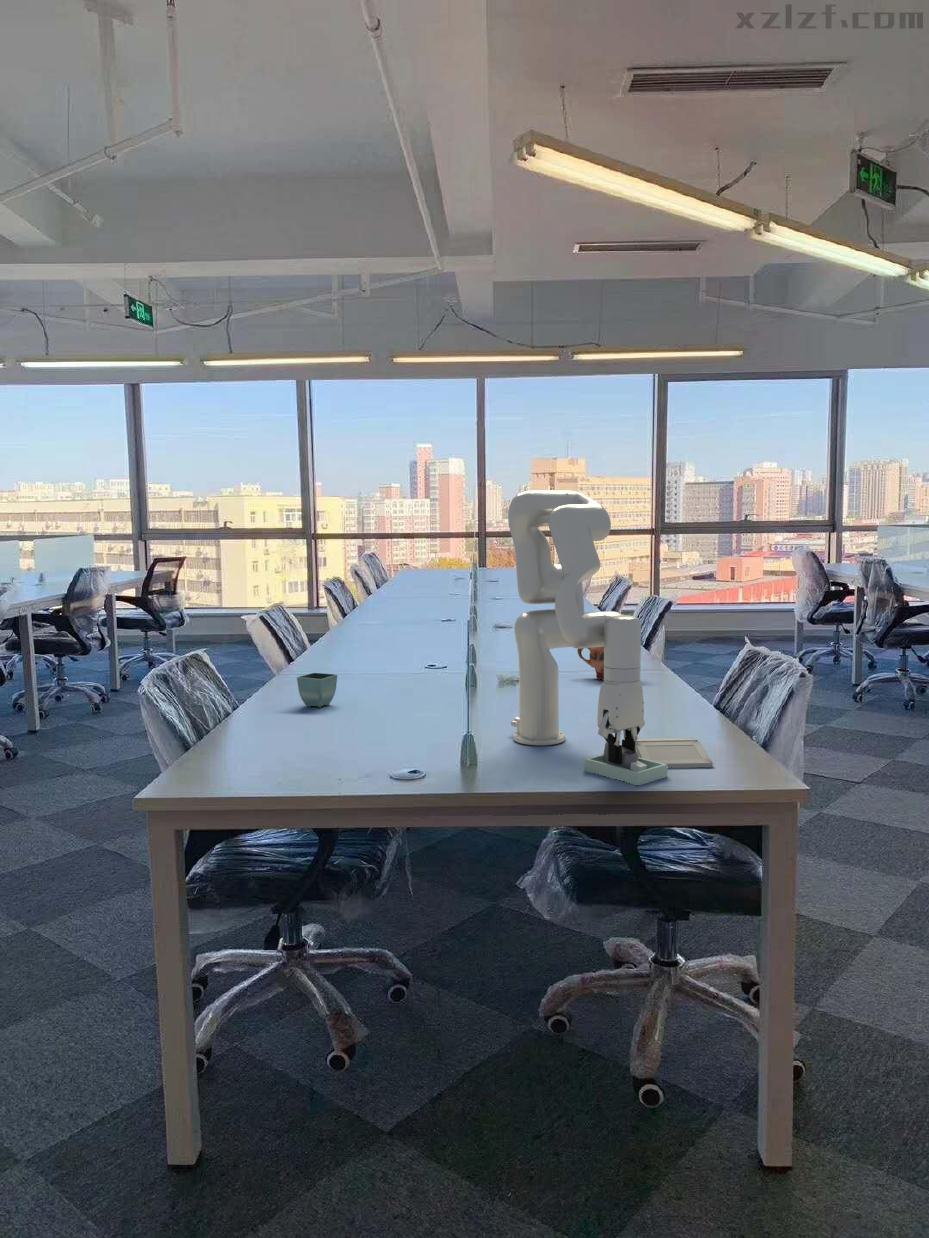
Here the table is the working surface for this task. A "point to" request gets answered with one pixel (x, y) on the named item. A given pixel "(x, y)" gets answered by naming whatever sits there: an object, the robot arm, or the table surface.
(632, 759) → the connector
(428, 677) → the table surface
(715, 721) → the table surface
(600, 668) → the sculpted clay mug
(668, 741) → the gadget
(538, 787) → the table surface
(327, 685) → the flower pot
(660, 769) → the tray
